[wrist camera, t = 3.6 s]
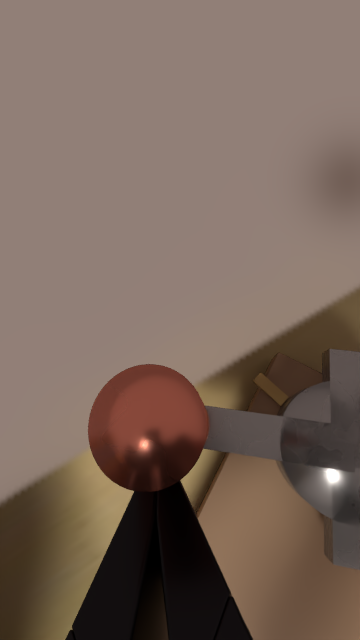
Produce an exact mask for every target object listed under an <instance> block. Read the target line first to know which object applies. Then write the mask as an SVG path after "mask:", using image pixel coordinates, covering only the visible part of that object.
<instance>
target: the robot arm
mask: <svg viewBox="0 0 360 640" xmlns="http://www.w3.org/2000/svg"><path fill="white" fill-rule="evenodd" d="M72 629H73V630H70V631H69V633H68V635H67V637H66V639H65V640H253V638H252V636H251V633H250V631H249V629H248V627H247V625H246V623H245V621H244V619H243V617H242V615H241V613H240V610H239V608H238V606H237V604H236V602H235V599H234V597H233V596H232V594H231V591H230V589H229V587H228V584H227V582H226V580H225V578H224V576H223V573H222V571H221V569H220V567H219V565H218V562H217V560H216V558H215V556H214V554H213V551H212V549H211V547H210V545H209V543H208V540H207V538H206V536H205V534H204V532H203V529H202V527H201V525H200V523H199V521H198V518H197V516H196V514H195V512H194V510H193V507H192V505H191V503H190V501H189V499H188V496H187V494H186V492H185V490H184V488H183V485H182V483H181V481H180V480H179V481H178V482H177V483H175V484H173V485H171V486H169V487H167V488H165V489H162V490H158V491H153V492H138V491H134V493H133V495H132V498H131V500H130V502H129V504H128V506H127V508H126V511H125V513H124V515H123V517H122V519H121V521H120V523H119V526H118V528H117V530H116V532H115V534H114V536H113V539H112V541H111V543H110V545H109V547H108V549H107V551H106V554H105V556H104V558H103V560H102V562H101V564H100V567H99V569H98V571H97V573H96V575H95V577H94V580H93V582H92V584H91V586H90V588H89V590H88V592H87V595H86V597H85V599H84V601H83V603H82V605H81V608H80V610H79V612H78V614H77V616H76V618H75V620H74V623H73V625H72Z"/></svg>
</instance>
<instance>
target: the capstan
mask: <svg viewBox="0 0 360 640" xmlns="http://www.w3.org/2000/svg"><path fill="white" fill-rule="evenodd" d="M88 435H89V443H90V448H91V451H92V454H93V457H94V459H95V461H96V463H97V464H98V466H99V467H100V469H101V470H102V471H103V473H104V474H105V475H106V476H107V477H108V478H109V479H111V480H112V481H113V482H115V483H116V484H118V485H119V486H121V487H124V488H126V489H129V490H133V491H138V492H153V491H158V490H162V489H165V488H167V487H169V486H171V485H173V484H175V483H177V482H178V481H179V480H181V479H182V478H183V477H184V476H185V475H187V474H188V473H189V471H190V470H191V469H192V468H193V466H194V465H195V463H196V462H197V460H198V459H199V456H200V454H201V452H202V450H203V449H210V450H216V451H222V452H228V453H235V454H241V455H247V456H254V457H260V458H266V459H272V460H276V463H277V465H278V468H279V470H280V472H281V474H282V475H283V477H284V479H285V480H286V481H287V483H288V484H289V485H290V487H291V488H292V489H293V490H294V491H295V492H296V493H297V494H298V495H299V496H300V497H302V498H303V499H304V500H305V501H306V502H308V503H309V504H310V505H311V506H312V507H313V508H315V509H316V510H318V511H319V512H320V513H322V514H323V515H324V554H325V555H326V557H327V558H328V559H329V560H330V561H331V563H332V564H333V565H337V566H342V567H347V568H352V569H357V570H360V352H355V351H346V350H336V349H328V350H327V351H325V352H324V353H322V383H319V384H316V385H313V386H311V387H308V388H306V389H303V390H301V391H299V392H297V393H295V394H294V395H293V396H291V397H290V398H289V399H288V400H287V401H286V402H285V403H284V404H283V406H282V407H281V408H280V410H279V412H278V414H277V416H275V415H268V414H261V413H254V412H247V411H239V410H232V409H225V408H218V407H211V406H204V404H203V402H202V400H201V398H200V396H199V394H198V392H197V391H196V389H195V388H194V386H193V385H192V384H191V383H190V382H189V381H188V380H187V379H186V378H185V377H184V376H183V375H181V374H179V373H178V372H177V371H175V370H172V369H171V368H168V367H165V366H161V365H153V364H146V365H138V366H134V367H131V368H128V369H126V370H124V371H122V372H120V373H119V374H117V375H116V376H114V377H113V378H112V379H111V380H110V381H109V382H108V383H107V384H106V385H105V386H104V387H103V389H102V390H101V391H100V393H99V394H98V396H97V398H96V399H95V402H94V404H93V406H92V410H91V413H90V417H89V425H88Z"/></svg>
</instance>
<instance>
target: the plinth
mask: <svg viewBox="0 0 360 640" xmlns="http://www.w3.org/2000/svg"><path fill="white" fill-rule="evenodd" d="M253 382H254V383H255V384H256V385H258V386H259V387H258V389H257V391H256V393H255V395H254V397H253V399H252V401H251V403H250V405H249V408H248V410H247V412H254V413H261V414H268V415H275V416H277V414H278V412H279V410H280V408H281V407H282V406H283V404H284V403H285V402H286V401H287V400H288V399H289V398H290V397H291V396H293V395H294V394H295V393H297V392H299V391H301V390H303V389H306V388H308V387H311V386H313V385H316V384H319V383H322V373H320V372H318V371H316V370H314V369H312V368H310V367H308V366H306V365H303V364H301V363H299V362H297V361H295V360H293V359H291V358H289V357H287V356H285V355H283V354H281V353H278V354H277V355H276V356H275V357H274V358H273V359H272V361H271V363H270V365H269V367H268V369H267V371H266V373H265V375H263V374H262V373H261V372H260V373H259V375H258V376H257V377H256V378H255V379H254V380H253ZM196 516H197V518H198V521H199V523H200V525H201V527H202V529H203V532H204V534H205V536H206V538H207V540H208V543H209V545H210V547H211V549H212V551H213V554H214V556H215V558H216V560H217V562H218V565H219V567H220V569H221V571H222V573H223V576H224V578H225V580H226V582H227V584H228V587H229V589H230V591H231V594H232V596H233V597H234V599H235V602H236V604H237V606H238V608H239V610H240V613H241V615H242V617H243V619H244V621H245V623H246V625H247V627H248V629H249V631H250V633H251V636H252V638H253V640H360V570H357V569H352V568H347V567H342V566H337V565H333V564H332V563H331V561H330V560H329V559H328V558H327V557H326V555H325V554H324V515H323V514H322V513H320V512H319V511H318V510H316V509H315V508H313V507H312V506H311V505H310V504H309V503H308V502H306V501H305V500H304V499H303V498H302V497H300V496H299V495H298V494H297V493H296V492H295V491H294V490H293V489H292V488H291V487H290V485H289V484H288V483H287V481H286V480H285V479H284V477H283V475H282V474H281V472H280V470H279V468H278V465H277V463H276V460H272V459H266V458H260V457H254V456H247V455H241V454H235V453H228V452H227V453H226V455H225V457H224V459H223V461H222V463H221V465H220V467H219V469H218V471H217V473H216V475H215V477H214V479H213V481H212V483H211V485H210V487H209V489H208V491H207V493H206V495H205V498H204V500H203V502H202V504H201V506H200V508H199V510H198V512H197V514H196Z"/></svg>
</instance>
